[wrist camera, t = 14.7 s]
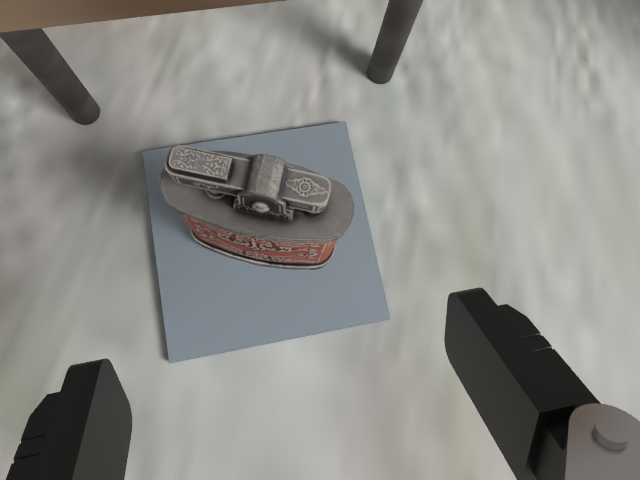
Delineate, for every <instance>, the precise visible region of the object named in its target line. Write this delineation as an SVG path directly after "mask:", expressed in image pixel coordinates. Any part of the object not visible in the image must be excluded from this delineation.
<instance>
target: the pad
mask: <svg viewBox="0 0 640 480" xmlns="http://www.w3.org/2000/svg"><path fill="white" fill-rule="evenodd" d="M181 146H187V147H192V148H197V149H201V150H209V151H231V152H238V153H245V154H251V155H255V154H267V155H271V156H276V157H279V158H281V159H283V160H285V161H286V162H287V163H291V164H294V165H298V166H301V167H304V168H307V169H309V170H312V171H314V172H317V173H319V174H321V175H324V176H326V177H329V178H331V179H334V180H336V181H338V182H340V183H341V184H343V185H344V186H346V188H347V189H348V191H349V192H350V193H351V195H352V198H353V202H354V216H353V219H352V222H351V224H350V226H349V228H348V230H347V231H346V232H345V234H344V235H343V236H342V237H341V238H339V239H338V240H337V242H336V249H335V252H334V255H333V257H332V259H331V260H330V261H329V263H328V264H327V265H326V266H324V267H323V268H321V269H317V270H284V269H276V268H269V267H262V266H256V265H252V264H249V263H245V262H241V261H238V260H234V259H231V258H228V257H225V256H223V255H221V254H218V253H216V252H213V251H211V250H209V249H206V248H204V247H202V246H201V245H199V244H198V243H197V242H196V240H195V239H194V237H193V236H192V234H191V231H190V227H189V224H188V223H187V222H186V220H185V219H184V217H183V216H182V215H181V214H179V213H178V212H176V211H175V210H173V209H172V208H171V207H170V206H169V205H168V203H167V202H166V200H165V199H164V197H163V196H162V193H161V189H160V177H161V173H162V171H163V168H164V166H165V160H166V156H167V154H168V152H169V150H170V149H171V148H172V147H167V148H160V149H153V150H146V151H142V155H143V163H144V170H145V178H146V186H147V194H148V202H149V209H150V217H151V225H152V233H153V241H154V248H155V256H156V264H157V272H158V280H159V287H160V295H161V303H162V311H163V319H164V326H165V334H166V342H167V350H168V358H169V363H174V362H179V361H184V360H189V359H194V358H199V357H204V356H209V355H214V354H219V353H224V352H228V351H233V350H238V349H243V348H248V347H253V346H258V345H263V344H268V343H273V342H278V341H283V340H288V339H293V338H298V337H303V336H308V335H313V334H318V333H323V332H328V331H333V330H338V329H343V328H348V327H353V326H358V325H363V324H368V323H373V322H378V321H383V320H388V319H390V316H389V311H388V307H387V302H386V298H385V293H384V289H383V285H382V280H381V276H380V271H379V267H378V263H377V258H376V254H375V249H374V245H373V241H372V236H371V232H370V227H369V223H368V218H367V214H366V210H365V205H364V201H363V196H362V192H361V188H360V183H359V179H358V174H357V170H356V166H355V161H354V157H353V152H352V148H351V144H350V139H349V135H348V130H347V126H346V121H345V122H338V123H331V124H324V125H318V126H311V127H304V128H297V129H290V130H283V131H276V132H270V133H263V134H256V135H249V136H242V137H235V138H229V139H222V140H215V141H208V142H201V143H194V144H187V145H181Z"/></svg>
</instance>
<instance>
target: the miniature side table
mask: <svg viewBox="0 0 640 480" xmlns="http://www.w3.org/2000/svg"><path fill="white" fill-rule="evenodd" d="M276 1H285V0H0V37H1V38H2V39H3V40H4V41H5V42H6V43H7V45H8V46H9V47H10V48H11V49H12V50H13V51H14V53H15V54H16V55H17V56H18V57H19V58H20V59H21V60H22V62H23V63H24V64H25V65H26V66H27V67H28V68H29V69H30V71H31V72H32V73H33V74H34V75H35V76H36V77H37V78H38V80H39V81H40V82H41V83H42V84H43V85H44V86H45V88H46V89H47V90H48V91H49V92H50V93H51V94H52V95H53V97H54V98H55V99H56V100H57V101H58V102H59V103H60V104H61V106H62V107H63V108H64V109H65V110H66V111H67V112H68V114H69V115H70V116H71V117H72V118H73V119H74V120H75V121H76V122H77V123H79V124H83V125H87V124H91V123H93V122H95V121H96V120H97V119H98V117H99V115H100V108H99V106H98V105H97V103H96V102H95V101H94V99H93V98H92V96H91V95H90V94H89V92H88V91H87V90H86V88H85V87H84V86H83V84H82V83H81V82H80V80H79V79H78V77H77V76H76V75H75V73H74V72H73V71H72V69H71V68H70V67H69V65H68V64H67V62H66V61H65V60H64V58H63V57H62V56H61V54H60V53H59V52H58V50H57V49H56V48H55V46H54V45H53V43H52V42H51V41H50V39H49V38H48V37H47V35H46V34H45V33H44V31H43V30H42V29H41V28H45V27H54V26H63V25H72V24H81V23H90V22H98V21H107V20H116V19H125V18H134V17H143V16H152V15H161V14H170V13H178V12H187V11H196V10H205V9H214V8H223V7H232V6H241V5H250V4H259V3H267V2H276ZM422 2H423V0H389V3H388V6H387V9H386V13H385V16H384V19H383V22H382V25H381V29H380V32H379V35H378V38H377V41H376V45H375V48H374V51H373V54H372V57H371V61H370V64H369V67H368V71H367V72H368V76H369V78H370V79H371V80H372V81H373V82H375V83H377V84H384V83H387V82H388V81H390V79H391V78H392V75H393V73H394V70H395V68H396V65H397V63H398V60H399V58H400V56H401V53H402V51H403V48H404V46H405V43H406V41H407V38H408V36H409V34H410V31H411V29H412V26H413V24H414V21H415V19H416V16H417V14H418V12H419V9H420V7H421V4H422Z"/></svg>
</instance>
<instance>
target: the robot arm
mask: <svg viewBox="0 0 640 480" xmlns="http://www.w3.org/2000/svg"><path fill="white" fill-rule="evenodd" d="M445 348H446V352H447V356H448V359H449V361H450V363H451V365H452V367H453V369H454V370H455V372H456V374H457V376H458V377H459V379H460V381H461V382H462V384H463V386H464V388H465V389H466V391H467V393H468V395H469V396H470V398H471V400H472V402H473V403H474V405H475V407H476V409H477V410H478V412H479V414H480V416H481V417H482V419H483V421H484V423H485V424H486V426H487V428H488V430H489V431H490V433H491V435H492V437H493V438H494V440H495V442H496V444H497V445H498V447H499V449H500V451H501V452H502V454H503V456H504V458H505V459H506V461H507V463H508V465H509V466H510V468H511V470H512V471H513V473H514V475H515V477H516V478H517V480H640V422H639V421H638V420H637V419H636V418H634V417H633V416H632V415H630V414H628V413H627V412H625V411H623V410H621V409H618V408H616V407H613V406H610V405H605V404H601V403H600V402H599V401H598V400H597V399H596V398H595V397H594V395H593V394H592V393H591V392H590V391H589V390H588V388H587V387H586V386H585V385H584V384H583V382H582V381H581V380H580V379H579V378H578V377H577V375H576V374H575V373H574V372H573V371H572V369H571V368H570V367H569V366H568V365H567V364H566V362H565V361H564V360H563V359H562V358H561V357H560V355H559V354H558V353H557V352H556V351H555V349H552V347H551V345H550V344H549V342H548V341H547V340H546V339H545V338H544V336H541V335H540V332H539V331H538V329H537V328H536V327H535V326H534V325H533V323H532V322H531V321H530V320H529V319H528V318H527V316H525V315H523V314H522V313H520V312H519V311H517V310H515V309H514V308H512V307H511V306H509V305H507V304H505V305H500V306H497V305H496V303H495V302H494V301H493V300H492V298H491V297H490V296H489V295H488V293H487V292H486V291H485V290H484V289H483V288H474V289H469V290H464V291H459V292H454V293H450V294H449V297H448V303H447V315H446V327H445ZM131 432H132V413H131V408H130V404H129V401H128V399H127V397H126V394H125V392H124V390H123V388H122V386H121V383H120V381H119V379H118V377H117V374H116V372H115V370H114V368H113V365H112V363H111V362H110V360H108V359H101V360H96V361H91V362H86V363H80V364H75V365H71V366H70V367H69V369H68V370H67V373H66V376H65V379H64V382H63V385H62V388H61V391H60V392H57V393H52V394H47V395H46V397H45V398H44V399H43V400H42V402H41V403H40V404H39V405H38V407H37V408H36V409H35V410H34V412H33V413H32V414H31V415H30V417H29V419H28V422H27V425H26V427H25V430H24V433H23V435H22V438H21V444H19V446H18V449H17V451H16V454H15V457H14V464H12V465H11V467H10V470H9V473H8V475H7V478H6V480H124V477H125V470H126V464H127V458H128V451H129V445H130V439H131Z"/></svg>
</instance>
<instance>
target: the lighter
mask: <svg viewBox="0 0 640 480" xmlns="http://www.w3.org/2000/svg"><path fill="white" fill-rule="evenodd" d="M160 189H161V193H162V196H163V197H164V199H165V200H166V202H167V203H168V205H169V206H170V207H171V208H172V209H173V210H175V211H176V212H178V213H179V214H181V215H182V216H183V217H184V219H185V220H186V222H187V223H188V224H189V227H190V231H191V234H192V236H193V237H194V239H195V240H196V242H197V243H198V244H199V245H201V246H202V247H204V248H206V249H209V250H211V251H213V252H216V253H218V254H221V255H223V256H225V257H228V258H231V259H234V260H238V261H241V262H245V263H249V264H252V265H256V266H262V267H269V268H276V269H284V270H317V269H321V268H323V267H324V266H326V265H327V264H328V263H329V261H330V260H331V259H332V257H333V255H334V252H335V249H336V242H337V240H338V239H339V238H341V237H342V236H343V235H344V234H345V232H346V231H347V230H348V228H349V226H350V224H351V222H352V219H353V216H354V202H353V198H352V195H351V193H350V192H349V191H348V189H347V188H346V186H344V185H343V184H341V183H340V182H338V181H336V180H334V179H331V178H329V177H326V176H324V175H321V174H319V173H317V172H314V171H312V170H309V169H307V168H304V167H301V166H298V165H294V164H291V163H287V162H286V161H285V160H283V159H281V158H279V157H276V156H271V155H267V154H255V155H251V154H245V153H238V152H231V151H209V150H201V149H197V148H192V147H187V146H181V145H177V146H173V147H172V148H171V149H170V150H169V152H168V154H167V156H166V160H165V166H164V168H163V171H162V173H161V177H160Z"/></svg>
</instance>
